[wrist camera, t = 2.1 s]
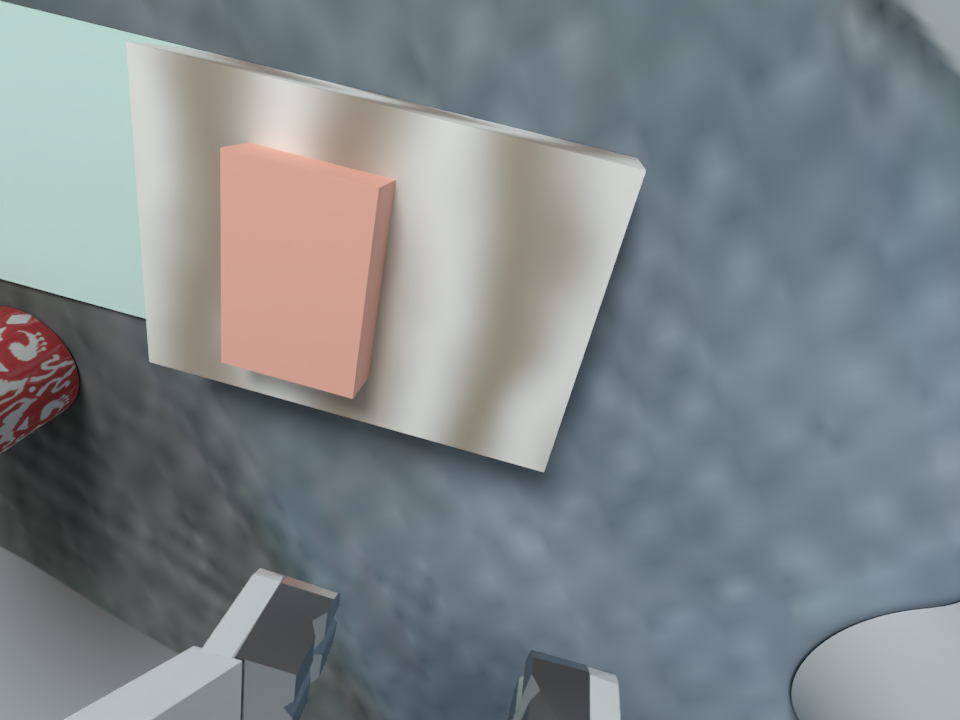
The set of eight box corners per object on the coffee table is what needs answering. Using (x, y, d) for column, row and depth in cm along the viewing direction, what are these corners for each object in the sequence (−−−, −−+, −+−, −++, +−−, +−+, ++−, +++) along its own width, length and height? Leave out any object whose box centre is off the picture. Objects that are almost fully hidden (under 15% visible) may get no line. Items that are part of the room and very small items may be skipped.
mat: (213, 53, 25) (209, 53, 24) (215, 335, 31) (212, 337, 31) (-78, -19, 25) (-85, -20, 25) (-16, 271, 32) (-21, 272, 32)
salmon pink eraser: (395, 179, 22) (379, 188, 20) (368, 377, 26) (352, 398, 24) (249, 142, 22) (220, 147, 20) (245, 343, 26) (221, 362, 24)
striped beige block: (637, 158, 24) (646, 170, 20) (548, 426, 30) (543, 472, 26) (191, 48, 25) (126, 41, 21) (199, 330, 31) (149, 361, 28)
